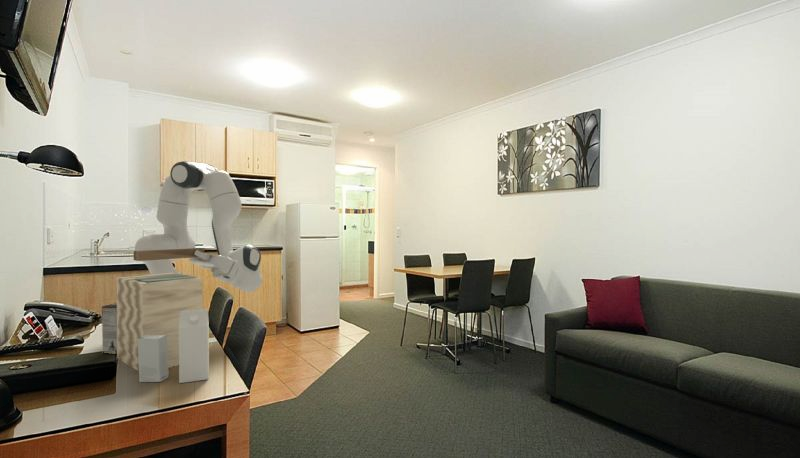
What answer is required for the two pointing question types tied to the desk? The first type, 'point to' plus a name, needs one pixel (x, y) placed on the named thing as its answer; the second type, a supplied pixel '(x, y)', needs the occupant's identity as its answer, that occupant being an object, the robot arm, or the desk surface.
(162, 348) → the skincare box
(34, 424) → the desk surface
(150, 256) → the walnut bar
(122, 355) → the birch stand
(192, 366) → the milk carton
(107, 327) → the coffee box
